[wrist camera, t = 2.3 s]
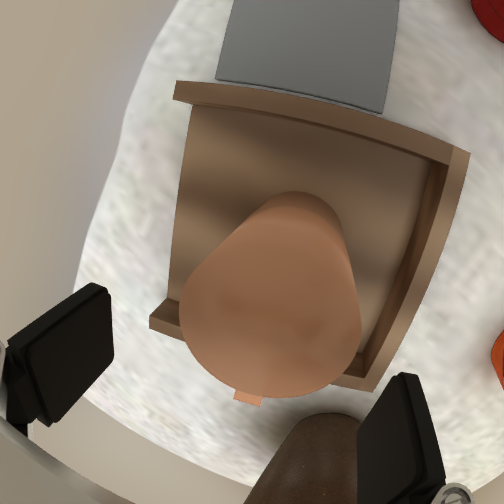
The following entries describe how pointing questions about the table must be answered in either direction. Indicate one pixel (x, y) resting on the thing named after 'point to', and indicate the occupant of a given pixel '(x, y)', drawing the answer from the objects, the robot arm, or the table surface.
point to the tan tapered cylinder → (275, 302)
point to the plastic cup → (491, 16)
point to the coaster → (313, 48)
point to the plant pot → (312, 464)
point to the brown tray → (326, 188)
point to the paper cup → (499, 358)
